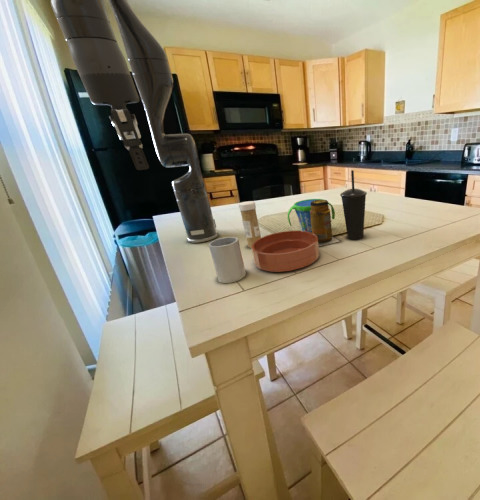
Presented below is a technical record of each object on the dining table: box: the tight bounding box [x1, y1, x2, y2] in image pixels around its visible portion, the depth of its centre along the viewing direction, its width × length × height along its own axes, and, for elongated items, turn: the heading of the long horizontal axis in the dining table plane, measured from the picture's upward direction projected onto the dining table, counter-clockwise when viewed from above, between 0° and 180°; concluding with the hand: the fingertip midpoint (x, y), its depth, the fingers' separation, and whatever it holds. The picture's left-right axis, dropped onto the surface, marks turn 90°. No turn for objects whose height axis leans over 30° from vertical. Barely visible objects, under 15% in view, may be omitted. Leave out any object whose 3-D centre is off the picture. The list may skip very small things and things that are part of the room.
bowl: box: [250, 230, 320, 273], centre depth 71 cm, size 17×17×5 cm
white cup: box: [208, 236, 247, 284], centre depth 63 cm, size 6×6×9 cm
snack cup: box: [287, 198, 336, 233], centre depth 90 cm, size 16×10×10 cm
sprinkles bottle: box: [238, 200, 262, 249], centre depth 81 cm, size 5×5×13 cm
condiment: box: [310, 199, 340, 247], centre depth 81 cm, size 7×8×12 cm
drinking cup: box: [339, 170, 368, 241], centre depth 80 cm, size 8×8×20 cm
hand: (142, 166), depth 56 cm, fingers open, 8 cm apart
